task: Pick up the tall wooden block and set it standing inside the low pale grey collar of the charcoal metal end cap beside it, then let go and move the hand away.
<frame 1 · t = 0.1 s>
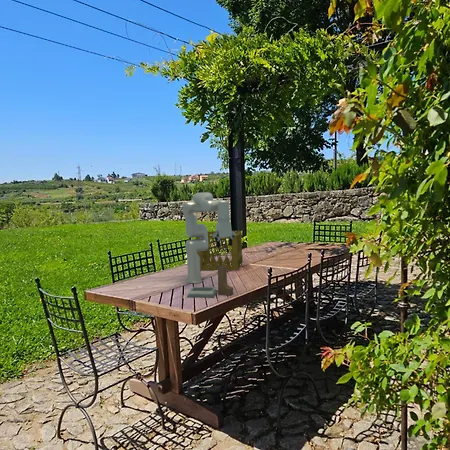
hand: (224, 246, 252), 31 cm above the table, tool pointing down, fingers open, 9 cm apart
milk crate: (220, 267, 349), on the table
wooden block: (225, 294, 255), on the table
end cap: (202, 294, 256), on the table
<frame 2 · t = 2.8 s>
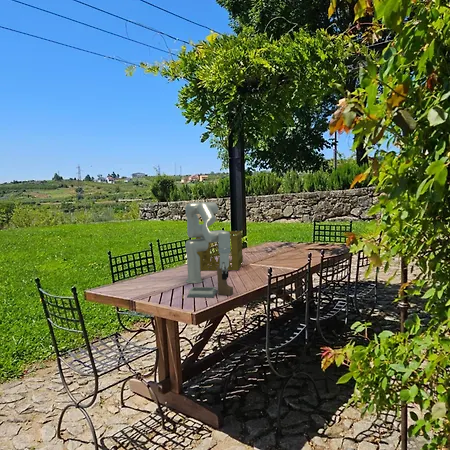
hand: (225, 278, 254), 10 cm above the table, tool pointing down, fingers closed on wooden block, 5 cm apart
wooden block: (225, 294, 255), on the table, touching gripper
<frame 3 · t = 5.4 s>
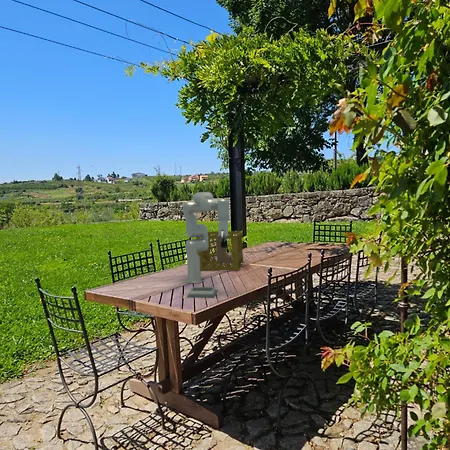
hand: (224, 246, 252), 31 cm above the table, tool pointing down, fingers closed on wooden block, 5 cm apart
wooden block: (224, 262, 253), point 20 cm above the table, touching gripper
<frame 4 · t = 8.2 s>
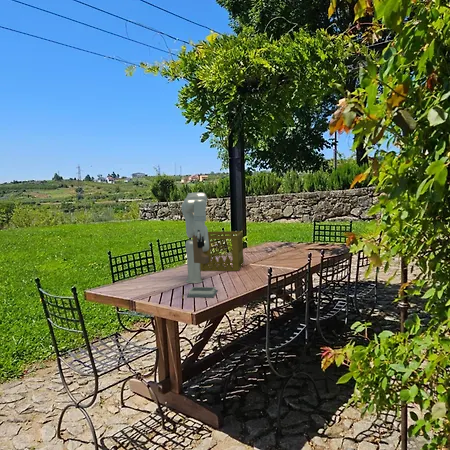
hand: (201, 246, 253), 31 cm above the table, tool pointing down, fingers closed on wooden block, 5 cm apart
wooden block: (201, 263, 254), point 21 cm above the table, touching gripper
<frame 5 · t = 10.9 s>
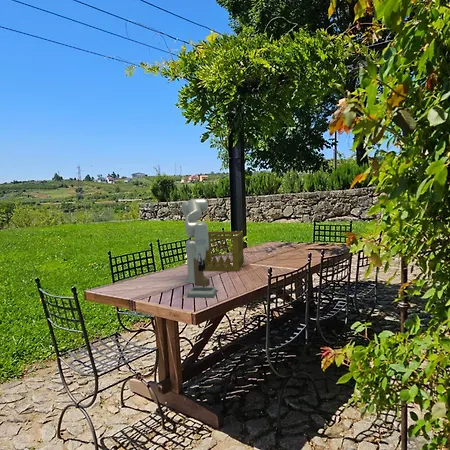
hand: (201, 269, 255), 16 cm above the table, tool pointing down, fingers closed on wooden block, 5 cm apart
wooden block: (202, 285, 256), point 6 cm above the table, touching gripper
when the fingers open (12 cm above the table, at t = 13.4 s): wooden block stays where it is, resting on end cap.
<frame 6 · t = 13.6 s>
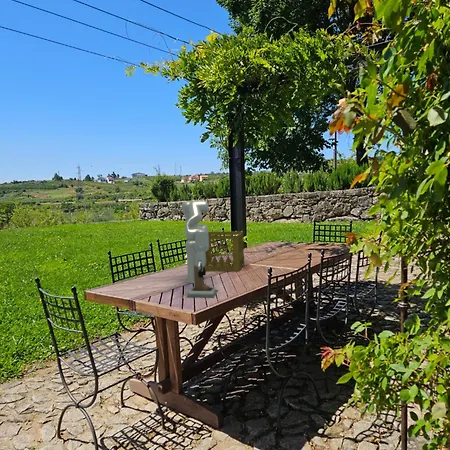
hand: (202, 276, 255), 12 cm above the table, tool pointing down, fingers open, 6 cm apart
wooden block: (202, 293, 256), point 1 cm above the table, touching end cap
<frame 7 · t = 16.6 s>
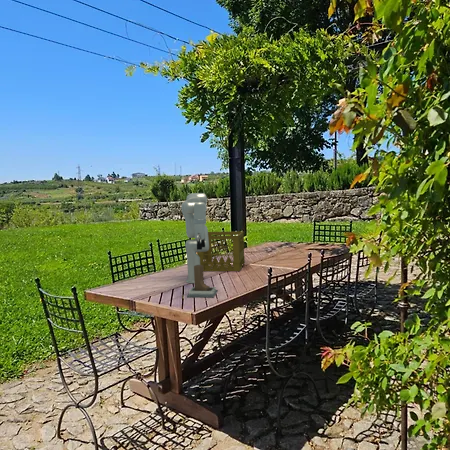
hand: (201, 248, 253), 30 cm above the table, tool pointing down, fingers open, 9 cm apart
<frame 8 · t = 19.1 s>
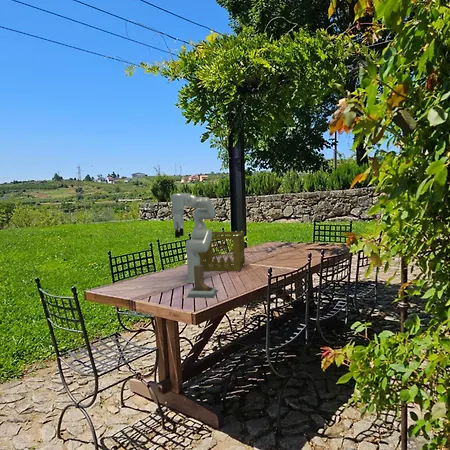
hand: (179, 236, 269), 36 cm above the table, tool pointing down, fingers open, 9 cm apart
at the end: wooden block 0.3 cm off-centre on the end cap, point 0.8 cm above the end cap's base; wooden block tilted 0°; the gripper is holding nothing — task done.
